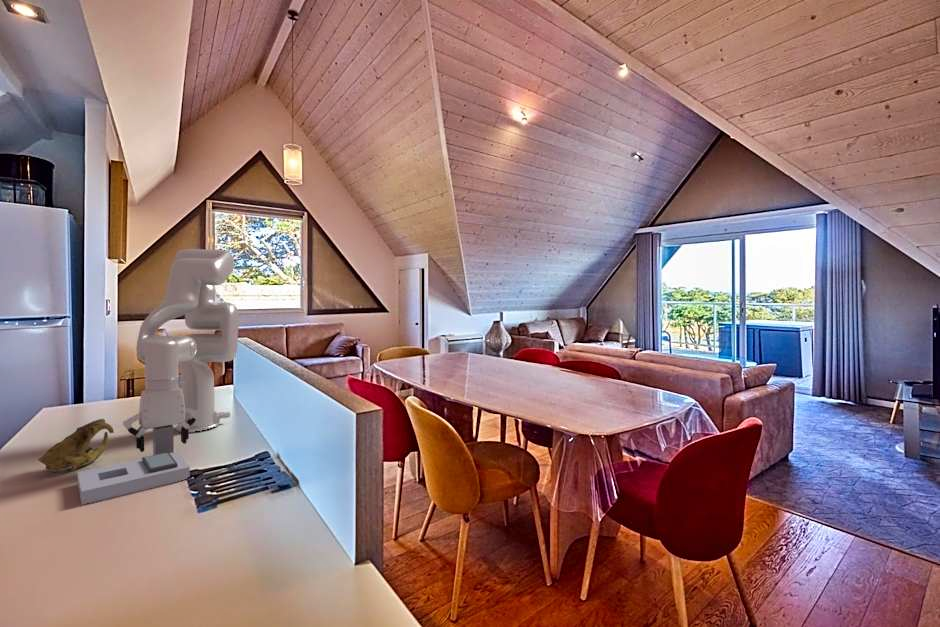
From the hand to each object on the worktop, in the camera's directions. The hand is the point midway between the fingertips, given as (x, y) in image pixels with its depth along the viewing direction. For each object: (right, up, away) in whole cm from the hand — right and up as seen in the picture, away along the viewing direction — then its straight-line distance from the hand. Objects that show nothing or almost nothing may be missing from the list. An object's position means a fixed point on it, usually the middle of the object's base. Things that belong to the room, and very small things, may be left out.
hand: (163, 446), depth 121 cm
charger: (0, -3, 0) cm, 3 cm away
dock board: (+3, -4, -15) cm, 16 cm away
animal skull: (-18, -4, -6) cm, 19 cm away
